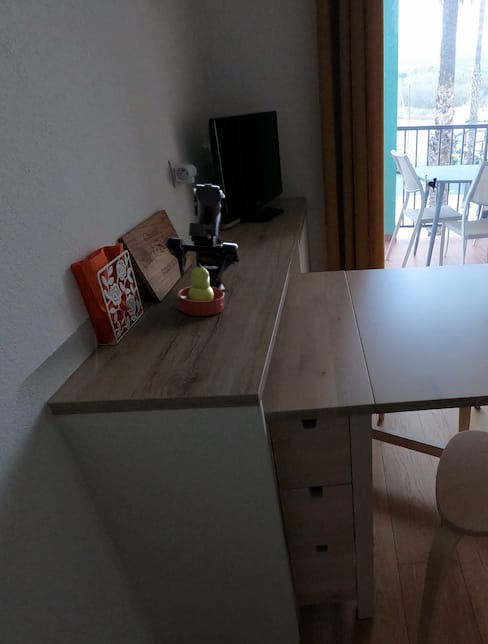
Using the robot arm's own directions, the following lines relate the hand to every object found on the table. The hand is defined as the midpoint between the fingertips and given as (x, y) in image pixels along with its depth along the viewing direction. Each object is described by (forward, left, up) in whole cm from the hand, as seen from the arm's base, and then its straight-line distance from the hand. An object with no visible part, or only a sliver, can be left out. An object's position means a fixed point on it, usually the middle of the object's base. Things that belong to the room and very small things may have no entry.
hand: (199, 277), depth 123 cm
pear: (-1, +1, -9) cm, 9 cm away
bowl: (-1, 0, -9) cm, 9 cm away
